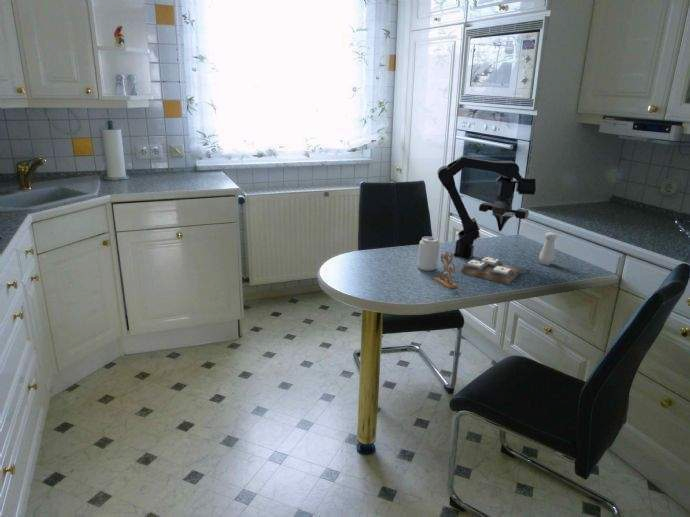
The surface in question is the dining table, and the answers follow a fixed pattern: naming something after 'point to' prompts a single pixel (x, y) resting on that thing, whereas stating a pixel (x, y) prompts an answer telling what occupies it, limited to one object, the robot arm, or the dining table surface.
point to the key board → (491, 271)
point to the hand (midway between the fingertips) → (500, 231)
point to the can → (428, 253)
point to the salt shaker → (548, 249)
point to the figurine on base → (441, 278)
